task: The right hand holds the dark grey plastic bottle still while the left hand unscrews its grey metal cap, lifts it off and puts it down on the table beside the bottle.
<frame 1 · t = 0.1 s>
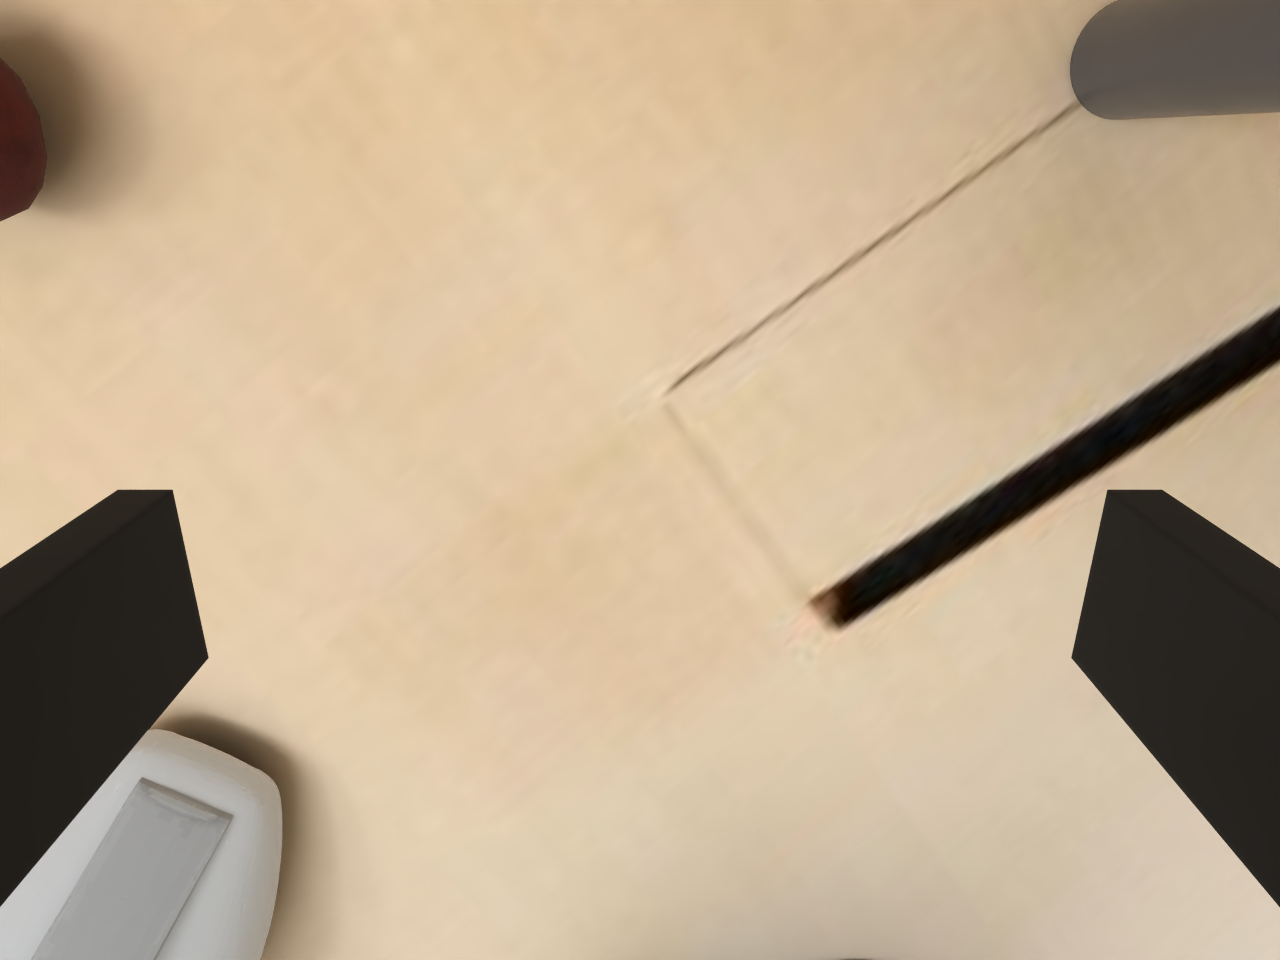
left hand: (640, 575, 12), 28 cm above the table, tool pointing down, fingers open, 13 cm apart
bottle: (1125, 59, 35), on the table
projector: (155, 868, 51), on the table
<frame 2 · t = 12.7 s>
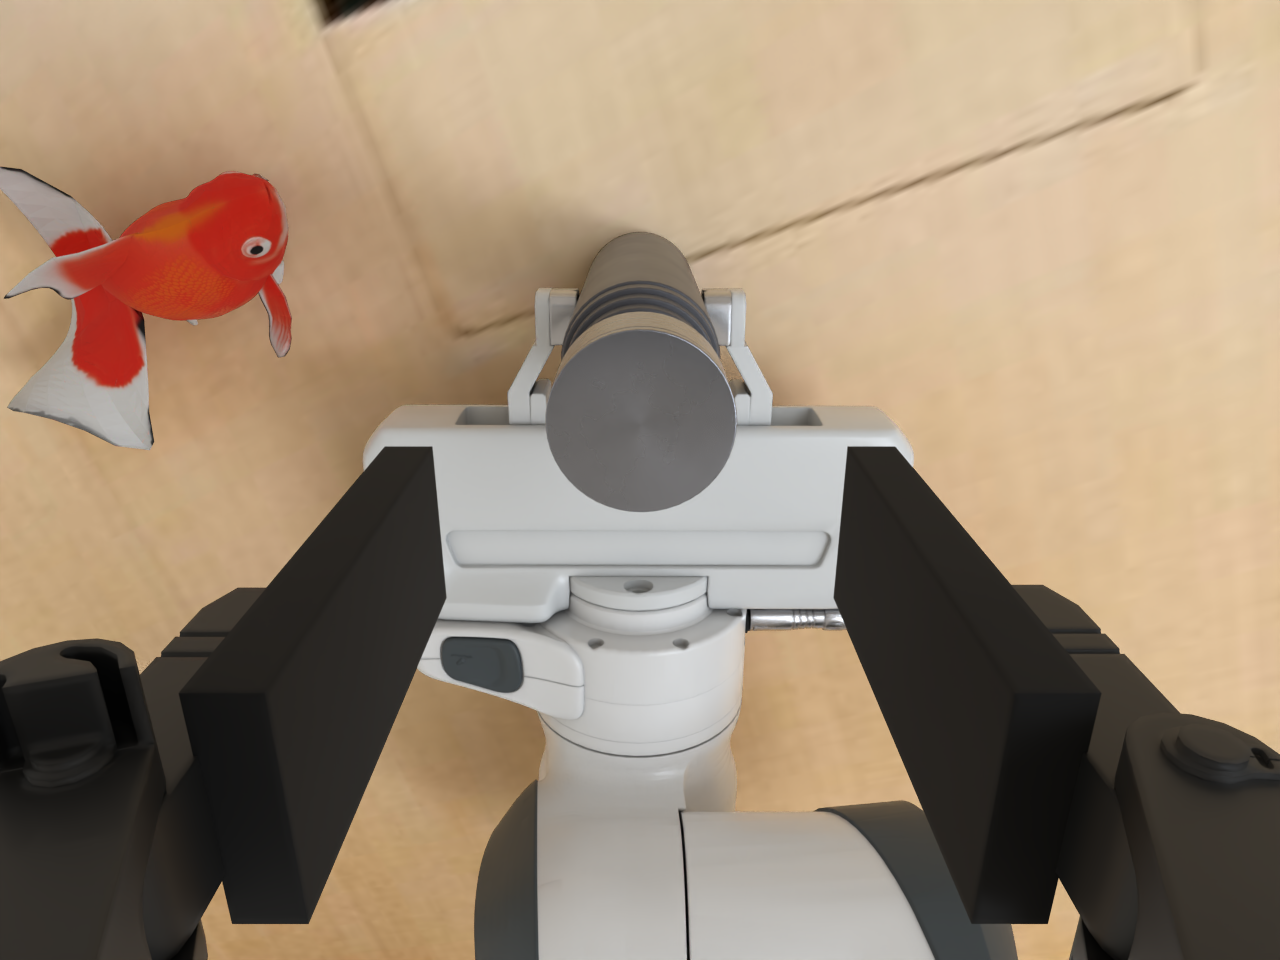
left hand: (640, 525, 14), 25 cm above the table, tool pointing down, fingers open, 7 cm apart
right hand: (639, 290, 31), fingers closed on bottle, 4 cm apart
cap: (641, 420, 19), point 19 cm above the table, screwed on, not yet turned
fish: (188, 288, 37), on the table
bottle: (640, 286, 37), on the table, touching right hand
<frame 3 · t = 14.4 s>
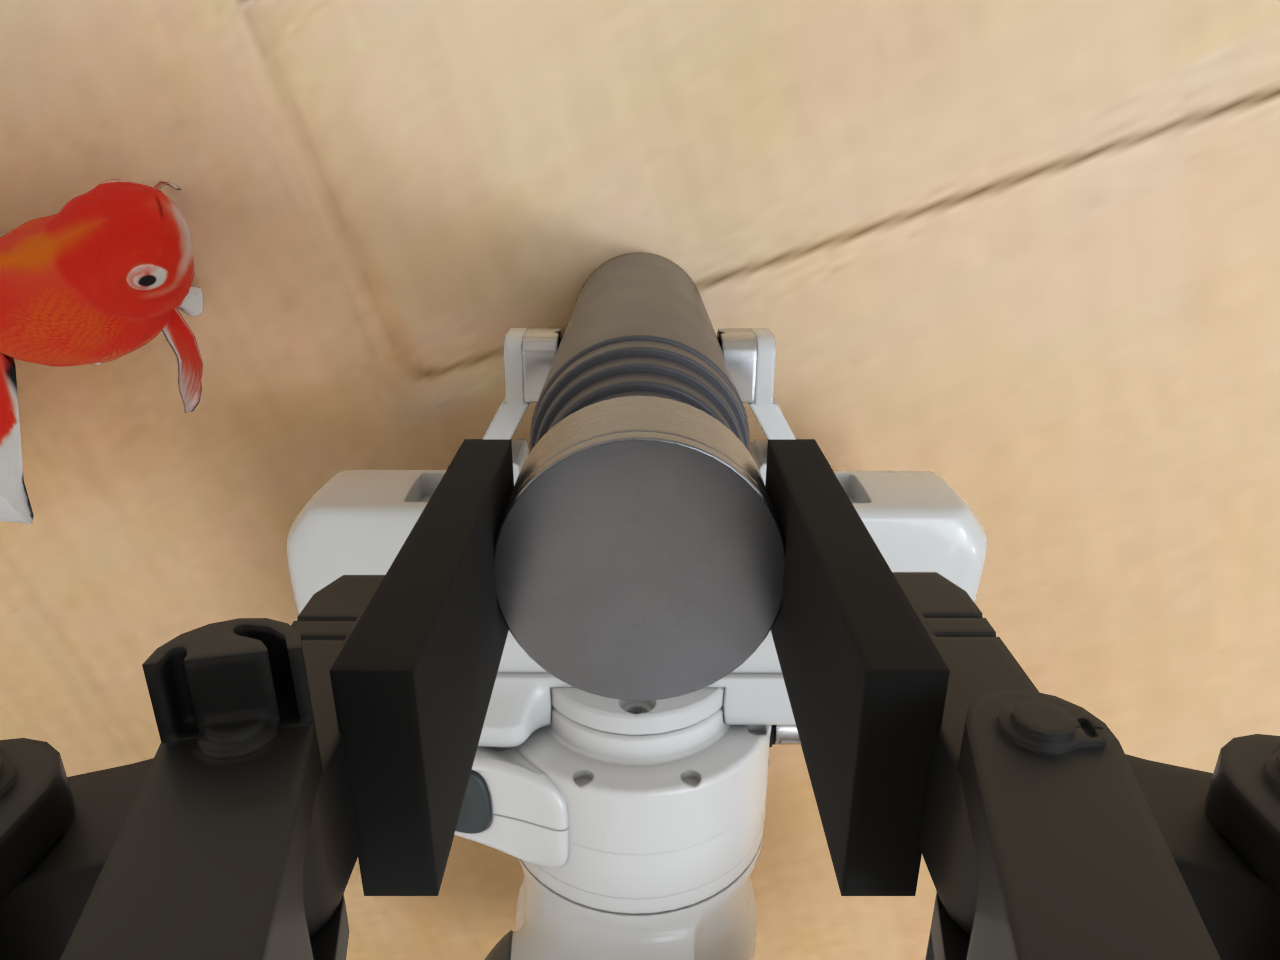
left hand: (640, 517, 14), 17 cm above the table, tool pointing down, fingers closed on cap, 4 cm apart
cap: (639, 568, 13), point 19 cm above the table, screwed on, not yet turned, touching left hand
fish: (89, 320, 30), on the table
bottle: (639, 318, 30), on the table, touching right hand
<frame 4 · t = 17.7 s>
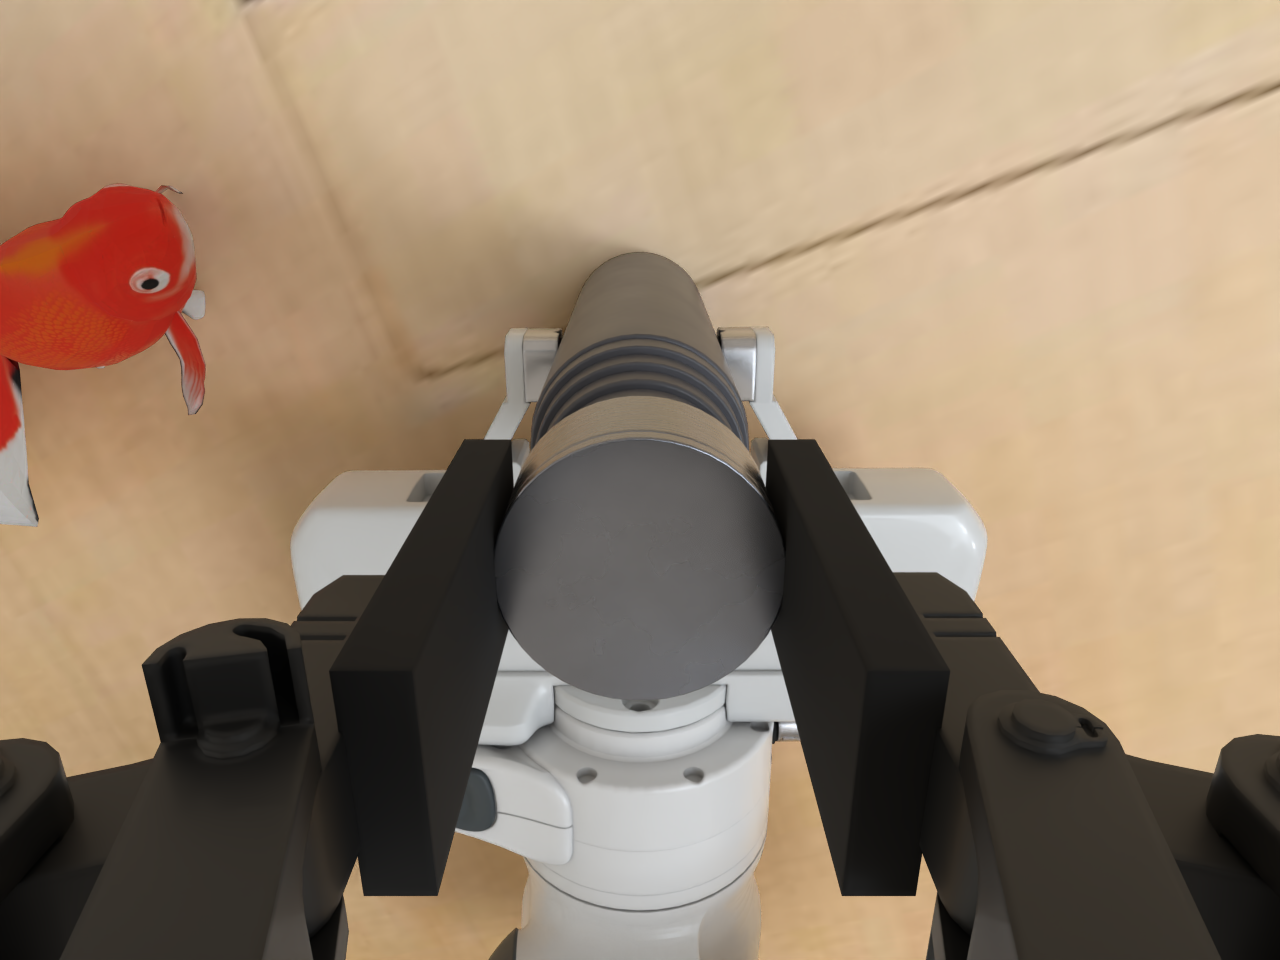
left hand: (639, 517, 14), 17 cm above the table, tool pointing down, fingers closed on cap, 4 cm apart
cap: (639, 568, 13), point 19 cm above the table, turned 107° so far, risen 0.1 cm, still on its thread, touching left hand
fish: (92, 324, 31), on the table
bottle: (639, 317, 31), on the table, touching right hand
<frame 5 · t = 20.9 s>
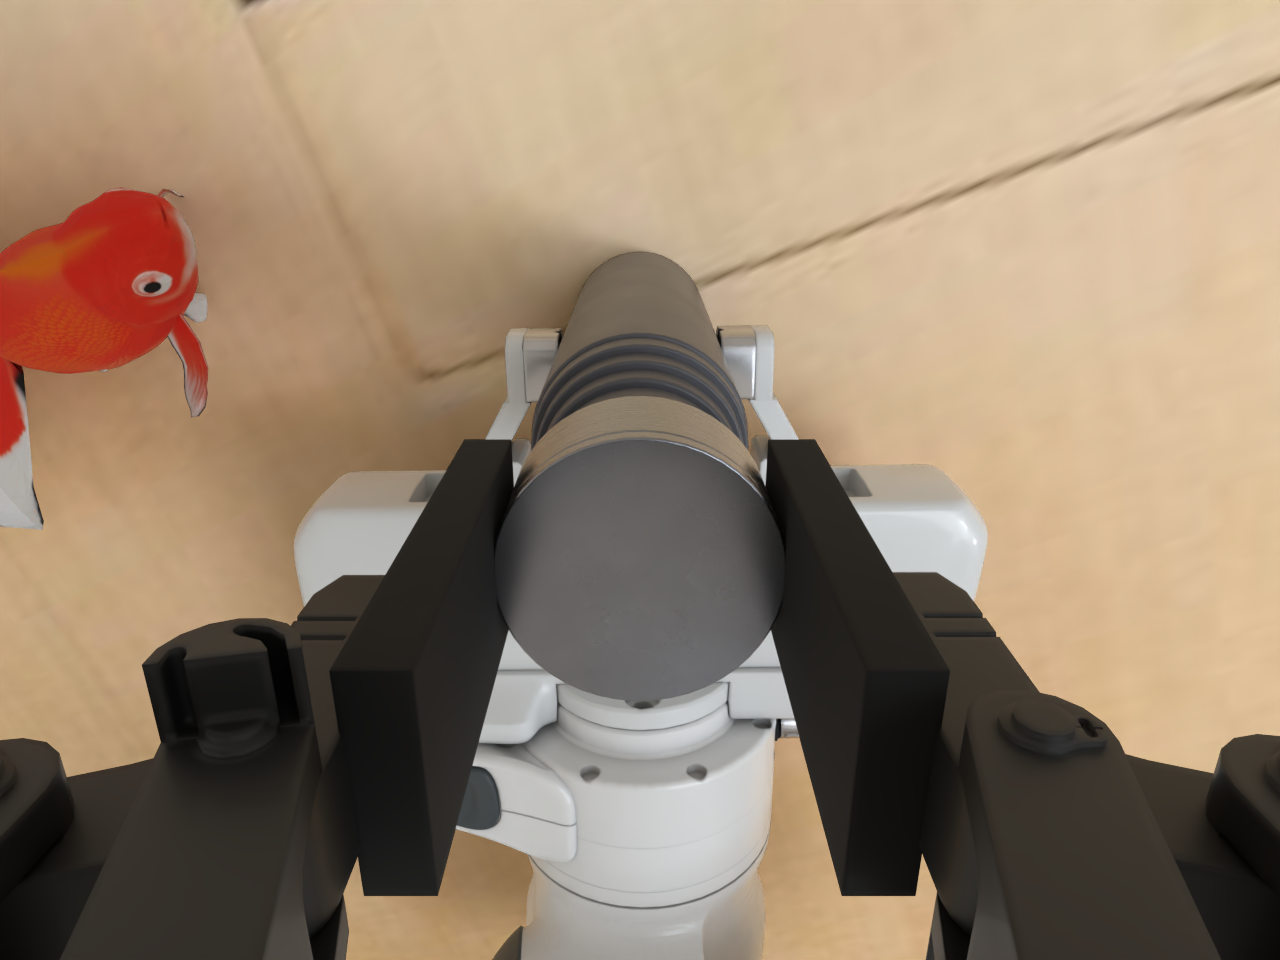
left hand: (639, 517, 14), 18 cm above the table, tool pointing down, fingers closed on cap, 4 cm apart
cap: (639, 568, 13), point 19 cm above the table, turned 213° so far, risen 0.2 cm, still on its thread, touching left hand
fish: (95, 328, 31), on the table
bottle: (639, 316, 31), on the table, touching right hand
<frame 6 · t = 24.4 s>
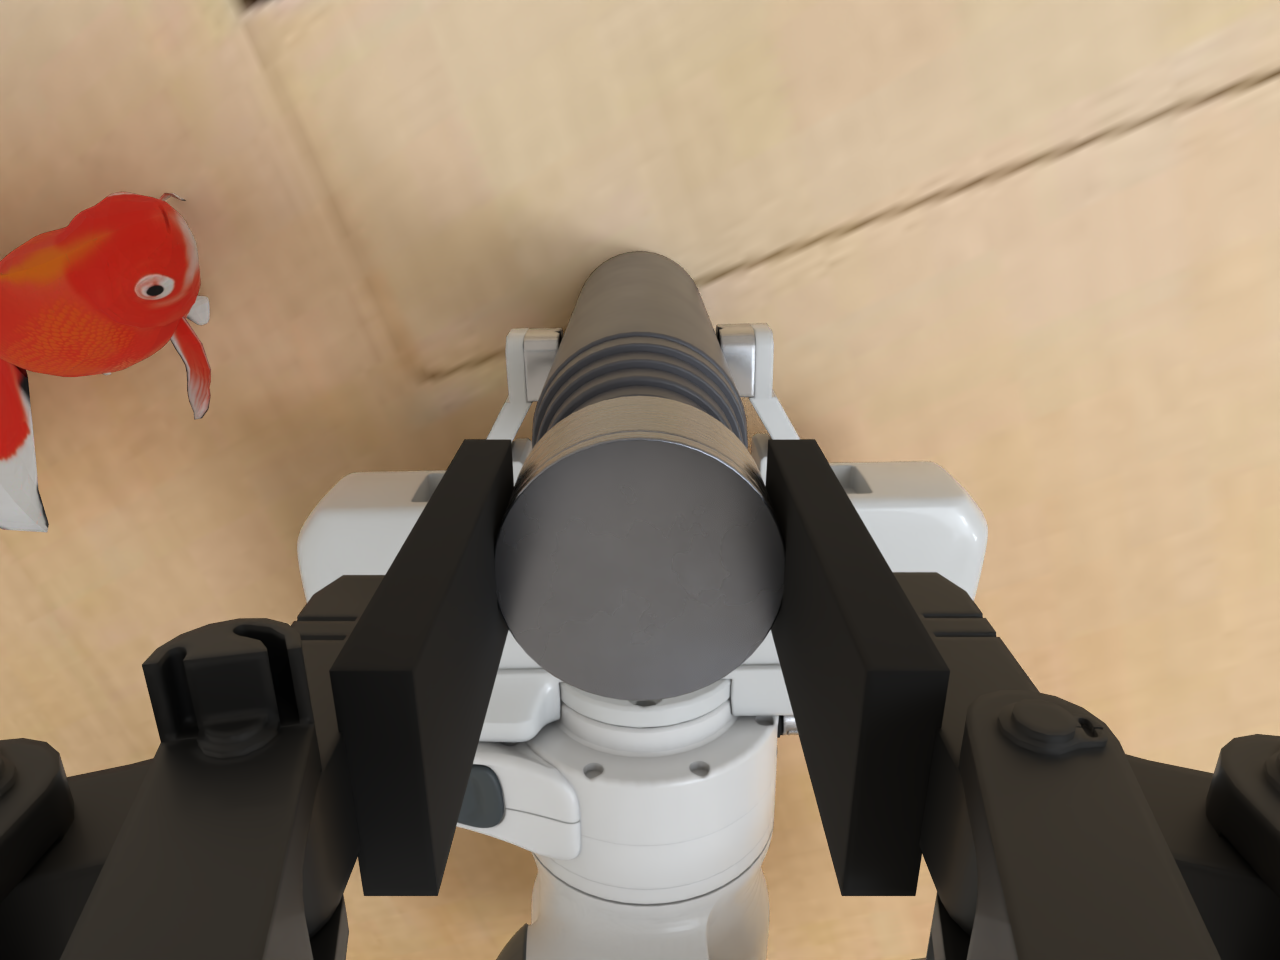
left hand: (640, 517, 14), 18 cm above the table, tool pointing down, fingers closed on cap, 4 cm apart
cap: (639, 568, 13), point 19 cm above the table, turned 320° so far, risen 0.3 cm, still on its thread, touching left hand
fish: (98, 331, 31), on the table
bottle: (639, 316, 31), on the table, touching right hand
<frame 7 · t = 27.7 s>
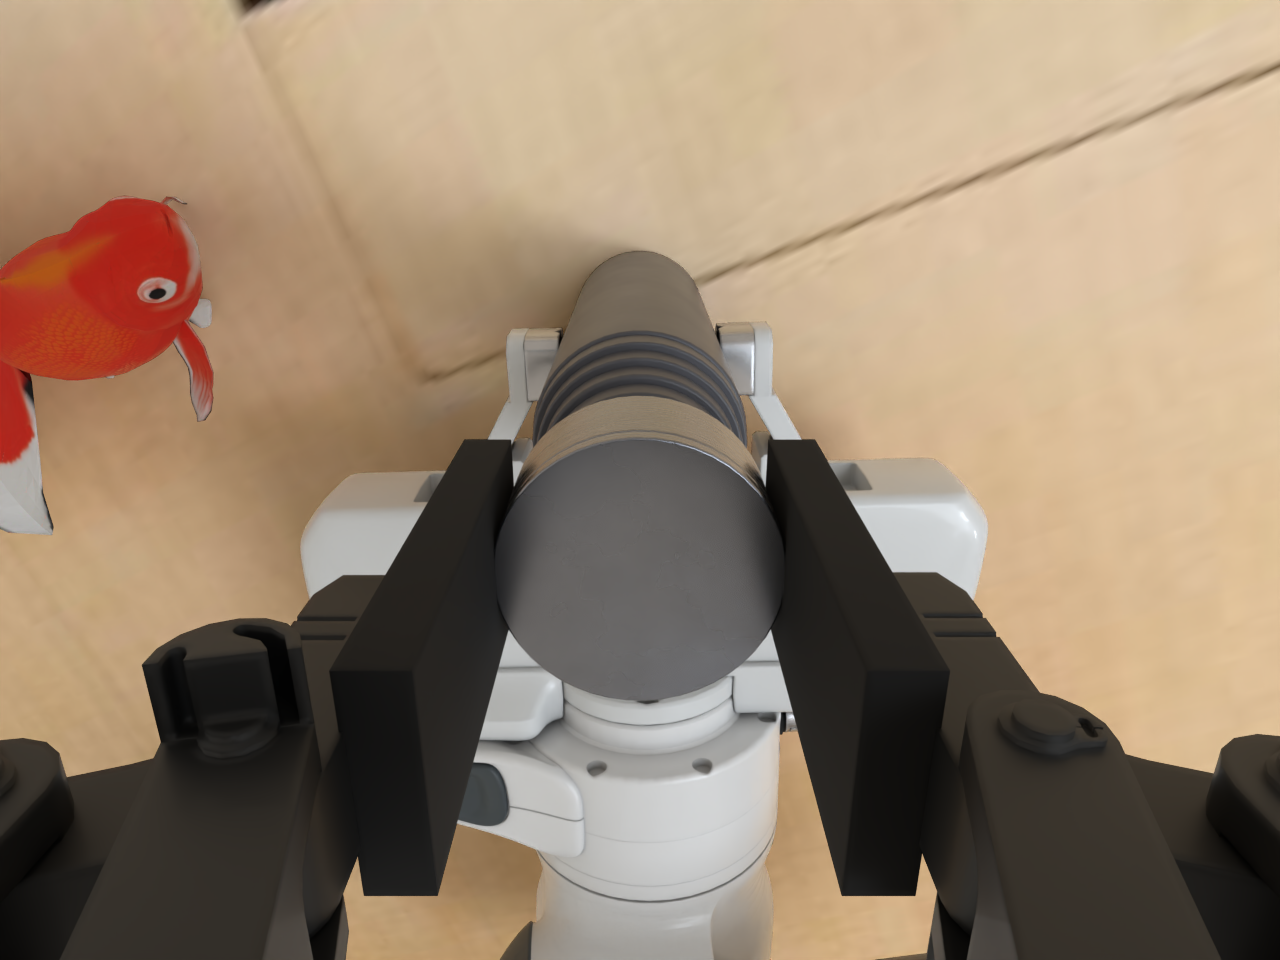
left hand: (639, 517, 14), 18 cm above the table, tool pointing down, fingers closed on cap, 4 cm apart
cap: (639, 568, 13), point 20 cm above the table, turned 426° so far, risen 0.5 cm, still on its thread, touching left hand
fish: (101, 335, 31), on the table
bottle: (639, 315, 31), on the table, touching right hand
when the left hand's fingers open (1 cm above the table, at t = 35.7 s): cap stays where it is, point 2 cm above the table.
when the right hand's fingers open (7 cm above the table, at t = 37.0 s): bottle stays where it is, on the table.
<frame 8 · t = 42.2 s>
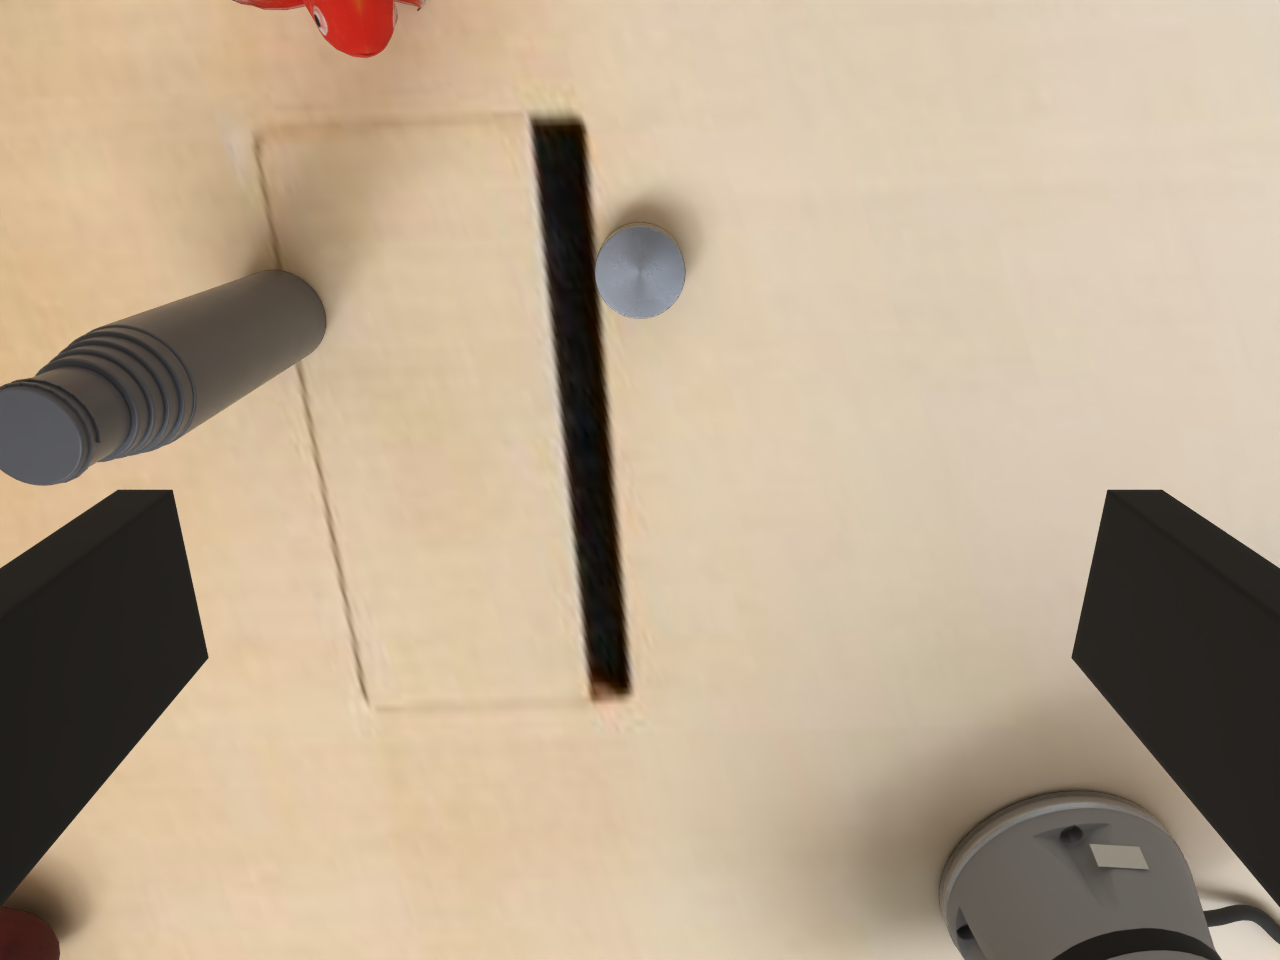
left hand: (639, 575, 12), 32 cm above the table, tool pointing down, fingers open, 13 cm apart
cap: (640, 272, 40), point 2 cm above the table, off its thread
dark red rounded piece: (25, 920, 58), on the table
bottle: (280, 315, 43), on the table
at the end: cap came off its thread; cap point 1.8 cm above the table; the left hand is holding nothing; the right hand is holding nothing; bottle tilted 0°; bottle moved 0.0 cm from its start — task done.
